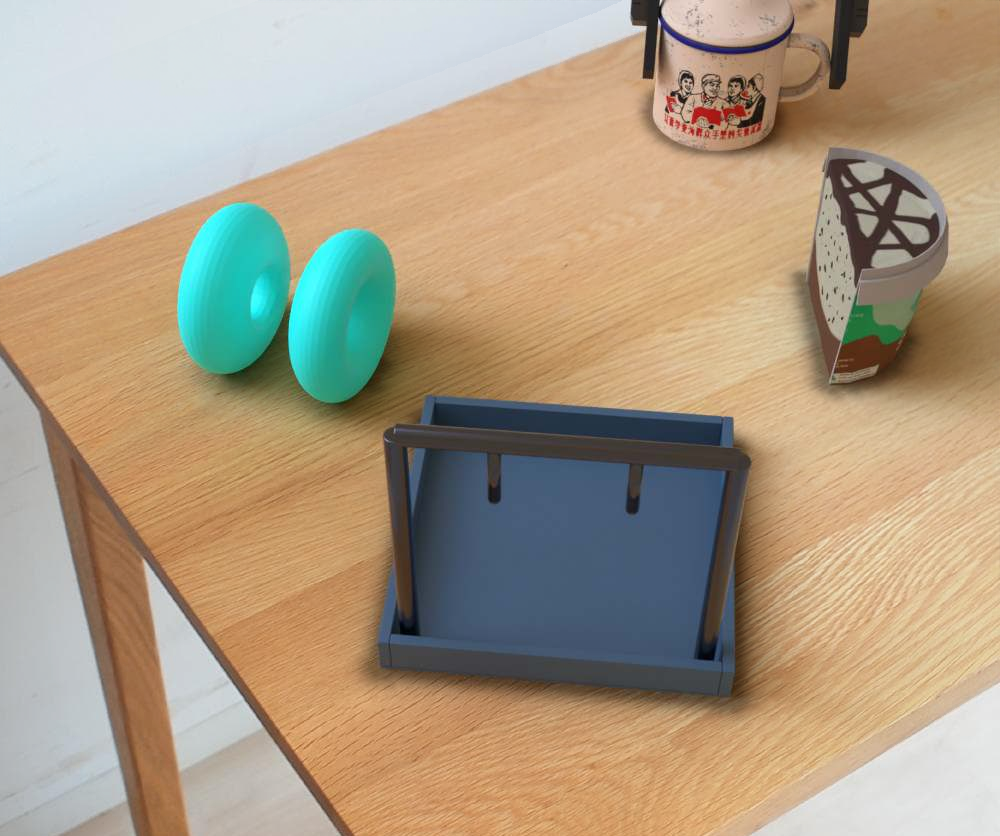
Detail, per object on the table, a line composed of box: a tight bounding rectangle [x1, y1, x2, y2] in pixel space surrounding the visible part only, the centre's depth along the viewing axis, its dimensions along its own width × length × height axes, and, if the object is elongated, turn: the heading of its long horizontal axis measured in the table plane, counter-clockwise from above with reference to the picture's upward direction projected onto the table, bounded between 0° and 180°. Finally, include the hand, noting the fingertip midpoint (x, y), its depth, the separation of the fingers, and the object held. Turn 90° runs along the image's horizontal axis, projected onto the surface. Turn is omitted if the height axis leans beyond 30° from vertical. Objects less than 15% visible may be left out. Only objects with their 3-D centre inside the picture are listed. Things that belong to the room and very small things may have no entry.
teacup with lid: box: [652, 0, 831, 152], centre depth 99 cm, size 12×9×12 cm
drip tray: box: [376, 394, 736, 698], centre depth 76 cm, size 17×17×3 cm
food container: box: [805, 145, 950, 386], centre depth 85 cm, size 12×6×10 cm, turn 0°
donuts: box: [176, 202, 397, 404], centre depth 83 cm, size 10×10×10 cm
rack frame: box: [382, 422, 753, 661], centre depth 66 cm, size 15×1×16 cm, turn 84°
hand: (742, 80), depth 98 cm, fingers closed on teacup with lid, 12 cm apart
